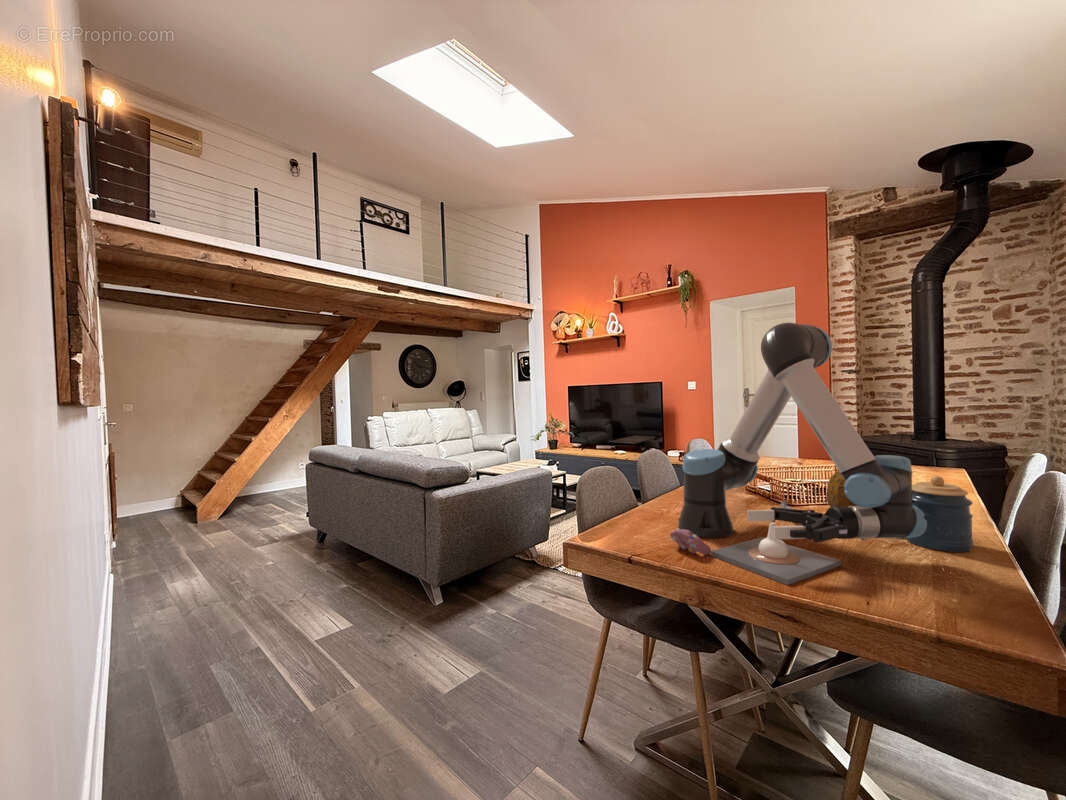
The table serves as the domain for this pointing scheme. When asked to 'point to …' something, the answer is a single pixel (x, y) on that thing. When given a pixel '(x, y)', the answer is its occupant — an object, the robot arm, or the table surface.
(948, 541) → the canister
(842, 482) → the decorative pumpkin
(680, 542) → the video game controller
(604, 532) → the table surface
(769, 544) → the garlic bulb
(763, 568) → the slate board
